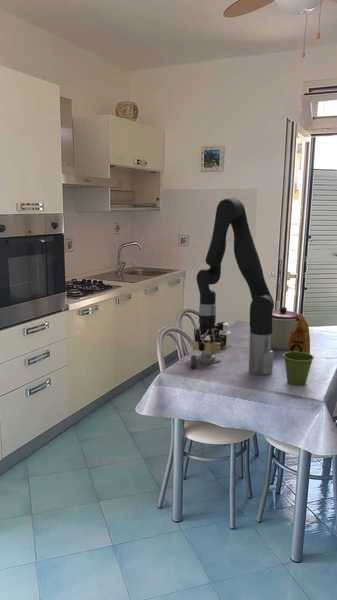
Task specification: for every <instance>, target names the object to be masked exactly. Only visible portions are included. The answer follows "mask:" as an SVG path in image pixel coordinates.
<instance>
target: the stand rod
mask: <svg viewBox="0 0 337 600" xmlns="http://www.w3.org/2000/svg"><path fill="white" fill-rule="evenodd" d="M197 358H198V356H197V355H193V354H192V355H190V369H191V368H192V370H196V369H197V363H198V362H197Z"/></svg>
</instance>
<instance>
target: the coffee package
mask: <svg viewBox="0 0 337 600" xmlns="http://www.w3.org/2000/svg"><path fill="white" fill-rule="evenodd" d="M298 314H299V316H298V317H299V318H297V319H296V320H295V321H298V322H297V323H296V324H295V326H294V327H293V329H292V332H291V334H290V337H289V341H288V350H287V352H304V353H308V354H311V338H310V337H311V336H310V327H309V324H308V322H307V319H306V318H305V317H304V315H303V313H298Z"/></svg>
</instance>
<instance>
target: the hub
mask: <svg viewBox="0 0 337 600" xmlns="http://www.w3.org/2000/svg"><path fill="white" fill-rule="evenodd" d="M200 353H201V354H200V355H198V356H197V363H198V362H199V363H198V364H201V365H203V364H204V365H203V366H208V365H209V364H210V365H213V363H214V364H217V363H220V362H221V360H220V359H217V358H216V356H214V355H208V354H206V353H203V352H200ZM210 365H209V366H210Z"/></svg>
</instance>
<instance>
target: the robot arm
mask: <svg viewBox="0 0 337 600" xmlns="http://www.w3.org/2000/svg"><path fill="white" fill-rule="evenodd" d="M247 218H248V217H247V213H246V209H245V205H244V203H243V201H242V200H241V199H240V198H238V197H229V198H224V199H222V200H221V201H219V203H218V204H217V207H216V211H215V219H214V225H213V231H212V235H211V240H210V244H209V247H208V249H207V250H208V251H207V254H206V257H205V263H206V265H208V266H209V268H206V269H200V270H199V271H198V272H197V274H196V283H197V288H198V292H199V307H198V324H199V326H198V328H194V329H193V337H194V339H195V341H196V342H198V343H199V350H200V351H203V341H204V339H207V336H208V337H209V340H211V341H215V340H216V339H217V338H218V337H219V330H220V326H218V325H217V321H216V320H217V319H216V318H217V306H216V304H217V303H216V301H217V300H216V298H217V294H216V293H217V292H216V291H215V290H212V289H211V288H210V286H211V285H215V284H217V283H219V281H220V279H221V272H222V271H221V270H222V262H223V260H224V257H225V256H224V255H225V253H226V248H227V234H228V230H229V227H230V226H231V228H232V232H233V252H234V253H233V254H234V258H235V262H236V264H237V267H238V270H239V271H240V273H241V275H242V277H243V279H244V281H246V285H247V286H248V289H249V292H250V296H251V302H250V307H249V327H250V328H249V349H248V350H249V353H248V372H249V373H250V374H255V375H260V376H266V375H270V374H272V373H273V367H274V351H273V350H272V349H273V348H272V330H273V327H272V314H273V311H274V308H275V301H274V298H273V297H272V294H271V292H270V289H269V287H268V285H267V283H266V279H265V277H264V271H263V267H262V263H261V260H260V257H259V254H258V250H257V248H256V245H255V243H254V239H253V236H252V233H251V230H250V227H249V223H248V219H247ZM201 338H202V339H201ZM200 351H199V352H200Z"/></svg>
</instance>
